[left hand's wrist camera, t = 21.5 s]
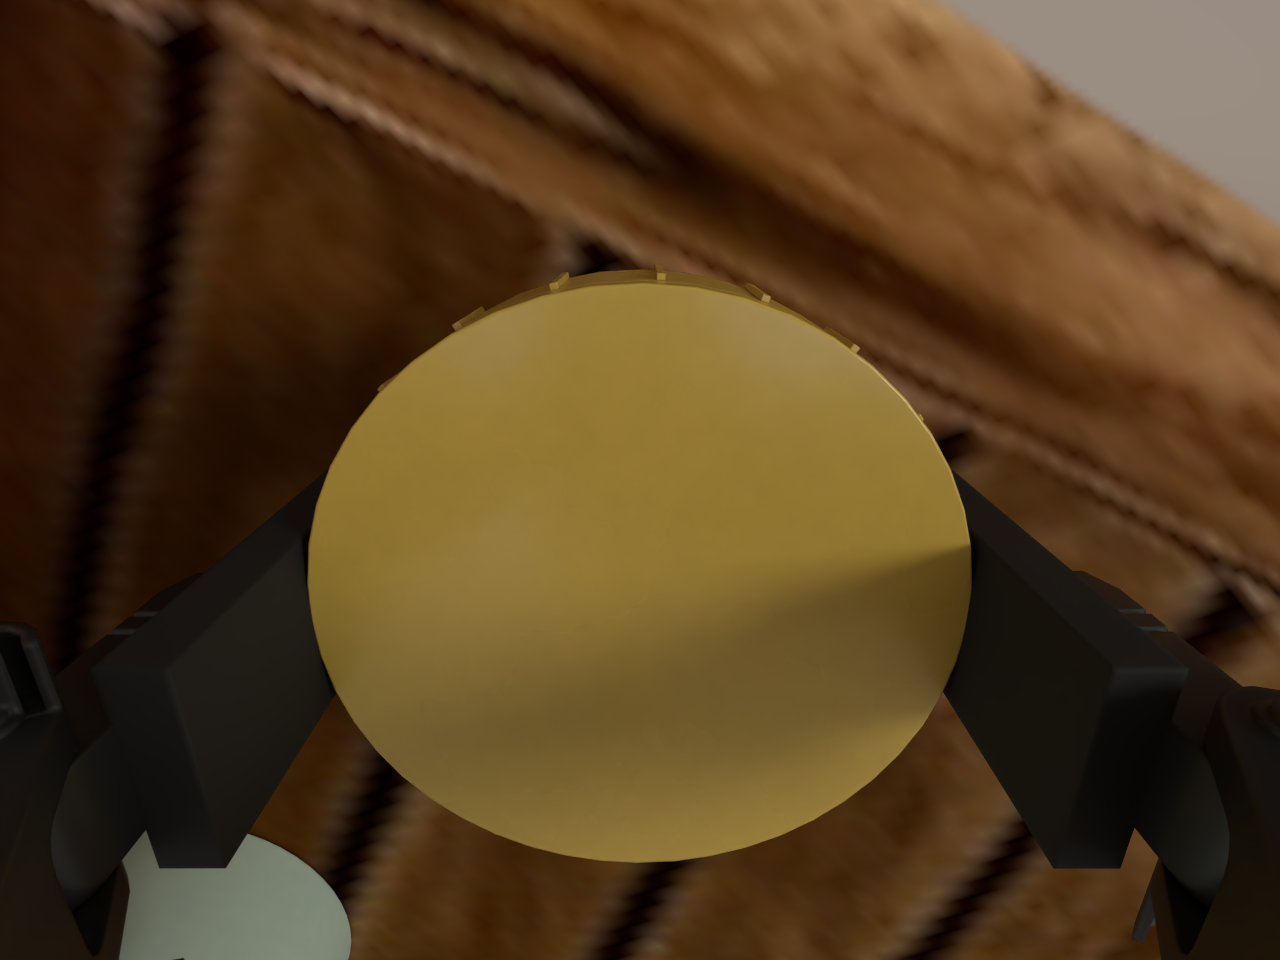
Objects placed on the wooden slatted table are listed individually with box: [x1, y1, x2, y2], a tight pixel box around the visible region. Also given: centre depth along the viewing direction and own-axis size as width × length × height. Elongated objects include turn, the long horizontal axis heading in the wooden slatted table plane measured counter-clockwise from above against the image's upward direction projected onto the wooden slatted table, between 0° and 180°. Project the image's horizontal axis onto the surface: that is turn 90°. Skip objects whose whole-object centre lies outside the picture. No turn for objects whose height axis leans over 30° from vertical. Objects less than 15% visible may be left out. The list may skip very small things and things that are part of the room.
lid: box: [307, 264, 972, 863], centre depth 11 cm, size 10×10×2 cm
